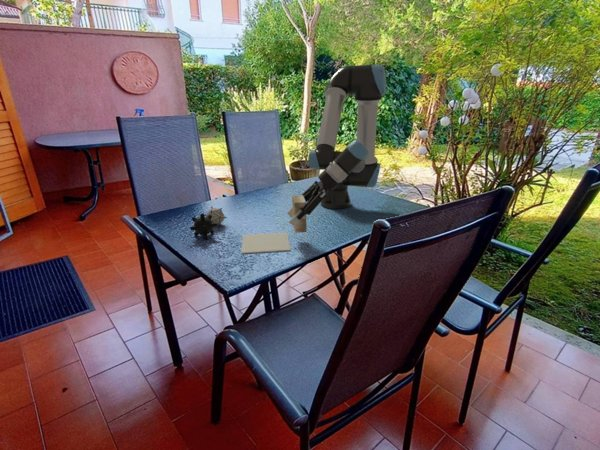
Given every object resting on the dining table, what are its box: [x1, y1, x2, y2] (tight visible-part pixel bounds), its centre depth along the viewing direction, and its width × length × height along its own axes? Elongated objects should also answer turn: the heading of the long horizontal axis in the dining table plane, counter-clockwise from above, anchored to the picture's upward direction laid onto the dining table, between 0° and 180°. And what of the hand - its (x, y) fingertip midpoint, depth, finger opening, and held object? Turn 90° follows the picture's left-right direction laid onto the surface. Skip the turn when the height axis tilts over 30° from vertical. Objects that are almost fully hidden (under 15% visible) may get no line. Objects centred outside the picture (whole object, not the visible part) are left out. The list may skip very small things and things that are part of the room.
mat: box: [240, 232, 292, 255], centre depth 132 cm, size 18×16×1 cm
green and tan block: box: [291, 194, 307, 234], centre depth 129 cm, size 4×8×12 cm, turn 7°
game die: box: [204, 206, 228, 227], centre depth 148 cm, size 9×8×10 cm
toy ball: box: [189, 213, 218, 241], centre depth 137 cm, size 11×11×12 cm
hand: (290, 219), depth 130 cm, fingers closed on green and tan block, 8 cm apart
